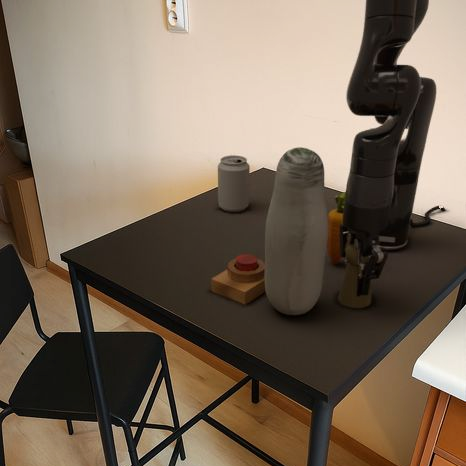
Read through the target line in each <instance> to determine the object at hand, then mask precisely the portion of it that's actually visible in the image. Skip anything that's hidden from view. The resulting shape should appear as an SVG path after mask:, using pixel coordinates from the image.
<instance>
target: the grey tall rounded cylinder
mask: <svg viewBox="0 0 466 466" xmlns="http://www.w3.org/2000/svg"><path fill="white" fill-rule="evenodd" d="M273 185H274V186H273V191H272V196H271V200H270V204H269V207H268V212H267V216H266V221H265V231H264V233H265V234H264V264H265V294H266V298H267V300H268V302H269V303H270V304H271V306H272V307H273V308H274V309H275V310H276V311H278V312H280V313H281V314H283V315H287V316H299V315H304V314H306V313H307V312H309V311H311V310H312V309H313V308H314V306H315V305H316V304H317V302H318V300H319V299H320V296H321V294H322V289H323V284H324V276H325V265H326V257H327V252H328V249H327V242H328V214H329V213H328V209H327V208H328V207H327V202H326V201H327V200H326V189H325V188H326V187H325V166H324V162H323V160H322V158H321V156H320V155H319V154H318V152H317V153H316V151H314V150H312V149H310V148H307V147H294V148H291V149H288V150H287V151H285V152H284V154H282V156H281V157H280V159H279V160H278V163H277V165H276V170H275V179H274V184H273Z"/></svg>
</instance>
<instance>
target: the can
mask: <svg viewBox="0 0 466 466" xmlns="http://www.w3.org/2000/svg"><path fill="white" fill-rule="evenodd" d="M247 161H248V159H247V157H245V156H242V155H235V154H233V155H232V154H231V155H226V156H223V157H221V158H220V162H219V163H218V164H217V204H218V207H219V208H221V210H223V211H225V212H227V213H241V212H243V211H245V210H246V209H247V208H248V207H249V205H250V171H251V169H250V168H251V165H250V164H249V163H248V162H247Z"/></svg>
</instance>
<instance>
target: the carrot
mask: <svg viewBox="0 0 466 466" xmlns="http://www.w3.org/2000/svg"><path fill="white" fill-rule="evenodd" d="M345 195H346V191H343V192H342V193H341V194H340V195H339V194H338V195H336V196H334V200H335V203H336V205H337V206H336V207H337V208H334V209H332V210H331V211H330V212H329V213H327V214H328V242H327V253H328V256H329V259H330V261H331V263H332V264H333V265H334V266H336V265H337V264H339V262H340V261H341V259H342V258H343V257H341V253H340V224H343V212H344V203H345ZM345 247H346V245H345Z"/></svg>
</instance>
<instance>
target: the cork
mask: <svg viewBox="0 0 466 466" xmlns="http://www.w3.org/2000/svg"><path fill="white" fill-rule="evenodd" d="M346 259H347V261H348V263H347V266H346V265H345V270H344V274H343V278H342V282H341V285H340V289H339V292H338V296H337V300H338V302H339V304H341V305H342V306H344V307H347V308H352V309H364V308H366V307H368V306H370V305H371V303H372V280H371V281H370V287H369V293H368V295H367V296H365V295H360V297H358V296H357V281H358V265H357V264H356V262H357V253H356V250H355V248H354V244H351V245H349V246H348V247H347V249H346ZM361 260H362V261H369V256H366V257H363V256H362V255H361ZM366 267H367V265H365V266H364V271H365V269H366Z"/></svg>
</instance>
